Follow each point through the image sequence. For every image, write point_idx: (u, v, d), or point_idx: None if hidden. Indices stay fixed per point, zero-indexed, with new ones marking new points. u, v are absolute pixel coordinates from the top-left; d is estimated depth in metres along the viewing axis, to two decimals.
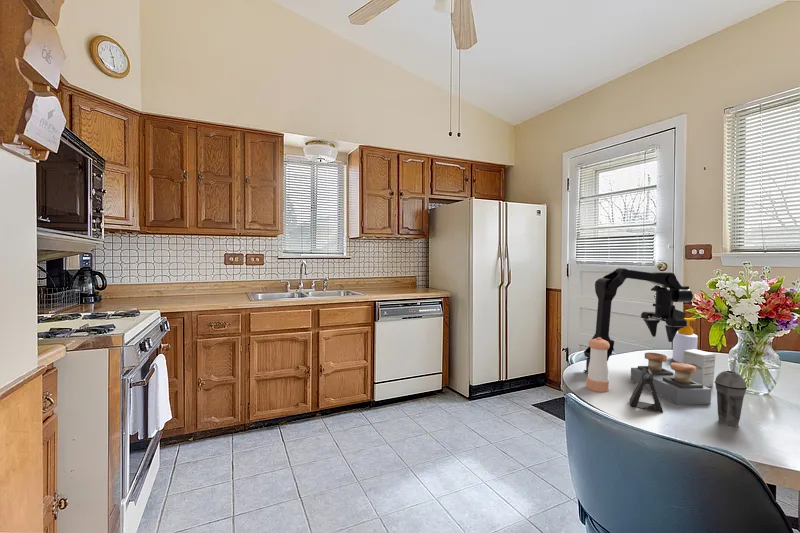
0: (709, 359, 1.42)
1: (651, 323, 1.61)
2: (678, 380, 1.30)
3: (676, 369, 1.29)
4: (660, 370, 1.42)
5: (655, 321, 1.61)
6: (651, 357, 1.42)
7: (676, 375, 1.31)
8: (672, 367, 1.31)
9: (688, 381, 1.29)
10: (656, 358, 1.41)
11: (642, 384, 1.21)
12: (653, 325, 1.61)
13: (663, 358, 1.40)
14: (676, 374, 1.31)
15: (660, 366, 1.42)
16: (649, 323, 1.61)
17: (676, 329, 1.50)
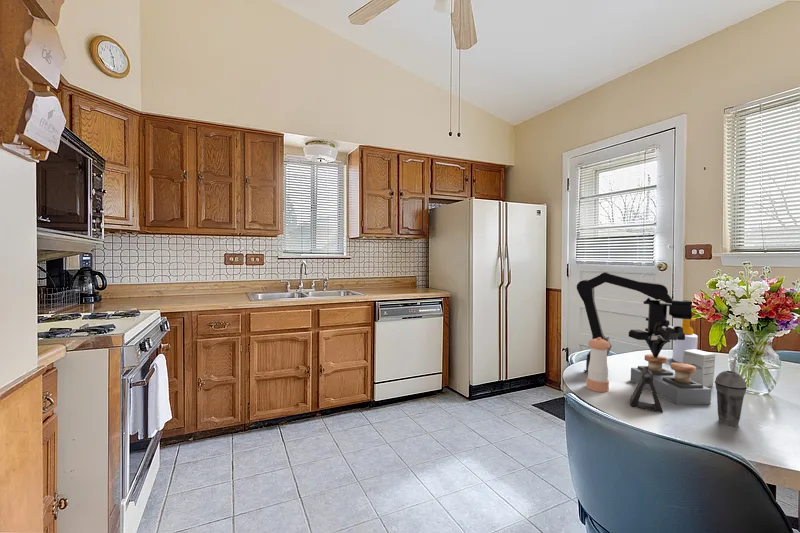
0: (709, 359, 1.42)
1: None
2: (678, 380, 1.30)
3: (676, 369, 1.29)
4: None
5: (659, 340, 1.43)
6: (651, 359, 1.42)
7: (676, 375, 1.31)
8: (672, 367, 1.31)
9: (688, 381, 1.29)
10: (656, 360, 1.41)
11: (642, 384, 1.21)
12: None
13: (663, 360, 1.40)
14: (676, 374, 1.31)
15: (660, 368, 1.42)
16: None
17: (653, 343, 1.42)
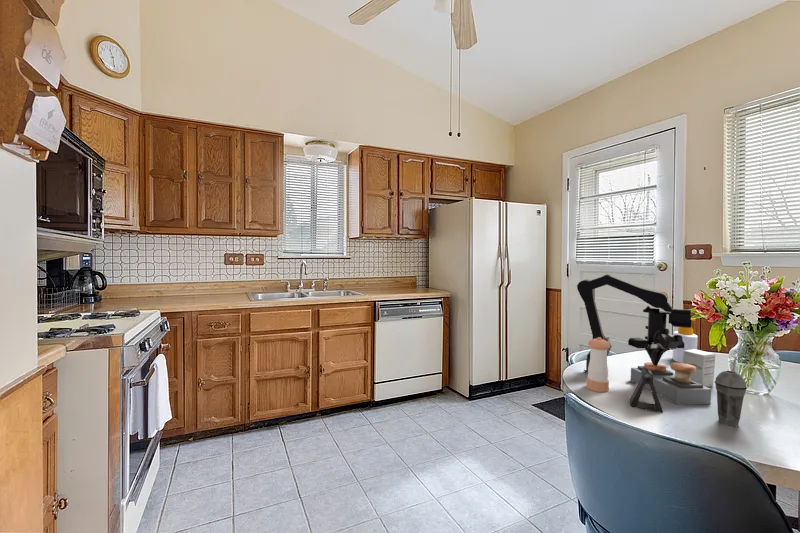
0: (709, 359, 1.42)
1: None
2: (678, 380, 1.30)
3: (676, 369, 1.29)
4: None
5: (658, 348, 1.43)
6: (651, 367, 1.42)
7: (676, 375, 1.31)
8: (672, 367, 1.31)
9: (688, 381, 1.29)
10: (656, 368, 1.41)
11: (642, 384, 1.21)
12: None
13: (663, 368, 1.40)
14: (676, 374, 1.31)
15: None
16: None
17: (652, 351, 1.42)
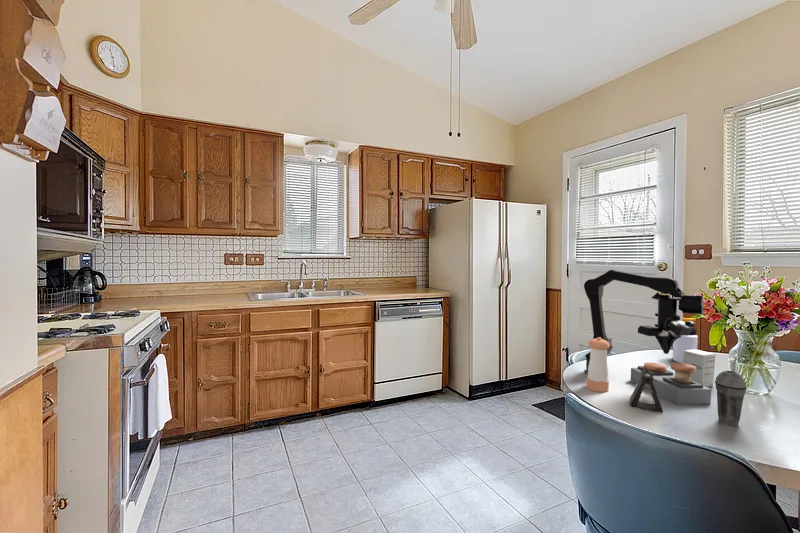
0: (709, 359, 1.42)
1: None
2: (678, 380, 1.30)
3: (676, 369, 1.29)
4: None
5: (669, 336, 1.38)
6: (651, 367, 1.42)
7: (676, 375, 1.31)
8: (672, 367, 1.31)
9: (688, 381, 1.29)
10: (656, 368, 1.41)
11: (642, 384, 1.21)
12: None
13: (663, 368, 1.40)
14: (676, 374, 1.31)
15: None
16: None
17: (663, 339, 1.38)
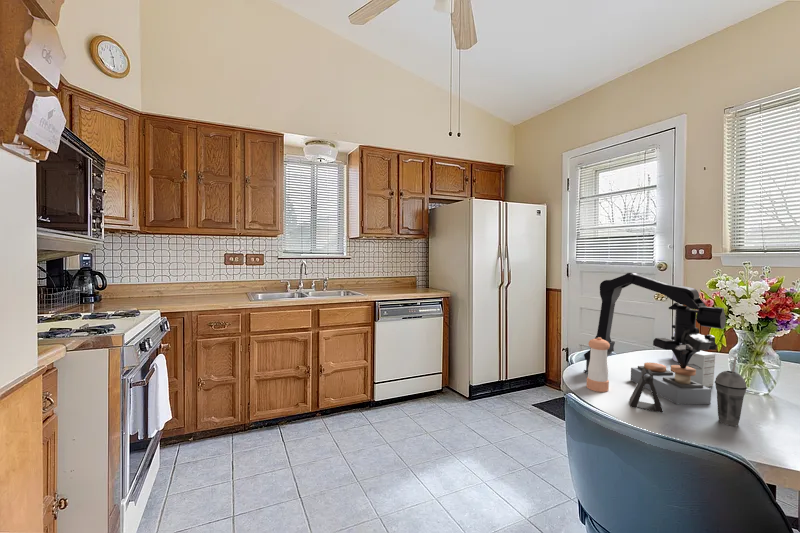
0: (709, 359, 1.42)
1: None
2: None
3: (676, 371, 1.29)
4: None
5: (687, 350, 1.30)
6: (651, 367, 1.42)
7: (676, 377, 1.31)
8: (672, 369, 1.31)
9: (688, 383, 1.29)
10: (656, 368, 1.41)
11: (642, 384, 1.21)
12: None
13: (663, 368, 1.40)
14: (676, 376, 1.31)
15: None
16: None
17: (680, 353, 1.29)
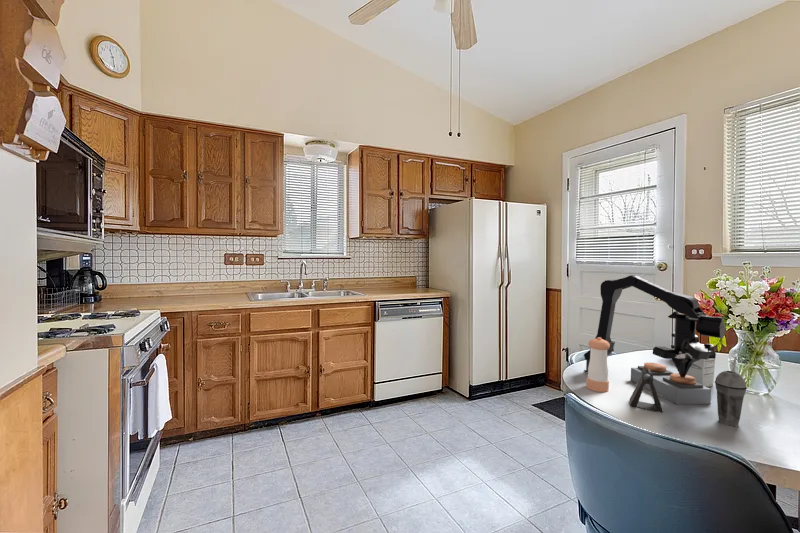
0: (709, 359, 1.42)
1: None
2: None
3: (675, 380, 1.29)
4: None
5: (687, 359, 1.30)
6: (651, 367, 1.42)
7: None
8: (671, 378, 1.31)
9: None
10: (656, 368, 1.41)
11: (642, 384, 1.21)
12: None
13: (663, 368, 1.40)
14: None
15: None
16: None
17: (680, 362, 1.29)
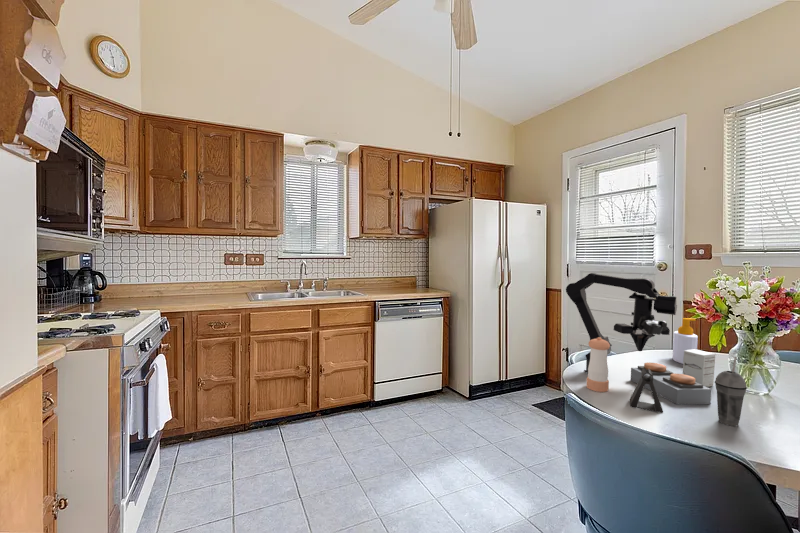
0: (709, 359, 1.42)
1: None
2: None
3: (675, 380, 1.29)
4: None
5: (644, 335, 1.44)
6: (651, 367, 1.42)
7: None
8: (671, 378, 1.31)
9: None
10: (656, 368, 1.41)
11: (642, 384, 1.21)
12: None
13: (663, 368, 1.40)
14: None
15: None
16: None
17: (637, 337, 1.43)
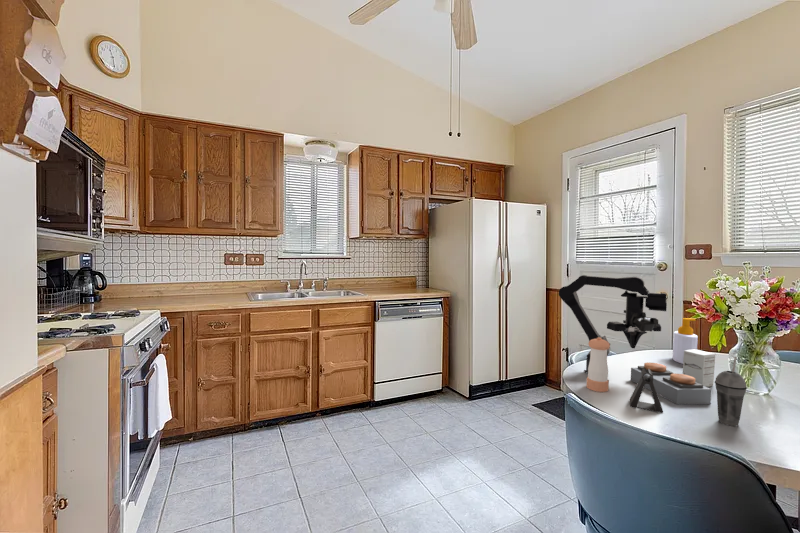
0: (709, 359, 1.42)
1: None
2: None
3: (675, 380, 1.29)
4: None
5: (636, 332, 1.47)
6: (651, 367, 1.42)
7: None
8: (671, 378, 1.31)
9: None
10: (656, 368, 1.41)
11: (642, 384, 1.21)
12: None
13: (663, 368, 1.40)
14: None
15: None
16: None
17: (630, 334, 1.46)
